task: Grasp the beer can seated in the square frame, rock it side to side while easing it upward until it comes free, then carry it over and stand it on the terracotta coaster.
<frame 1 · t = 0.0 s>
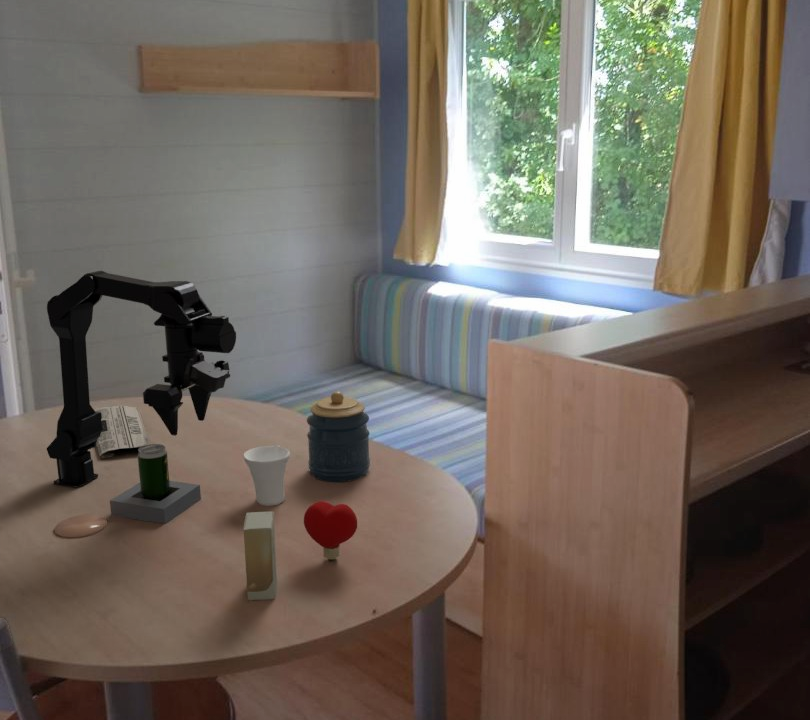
hand: (188, 427, 172), 15 cm above the table, fingers open, 9 cm apart
beer can: (157, 508, 172), resting in square frame
skincare box: (262, 592, 140), on the table
canister: (339, 472, 188), on the table
coaster: (81, 526, 163), on the table
cup: (269, 500, 174), on the table
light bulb: (331, 560, 150), on the table
square frame: (157, 507, 172), on the table
newspaper: (120, 436, 214), on the table
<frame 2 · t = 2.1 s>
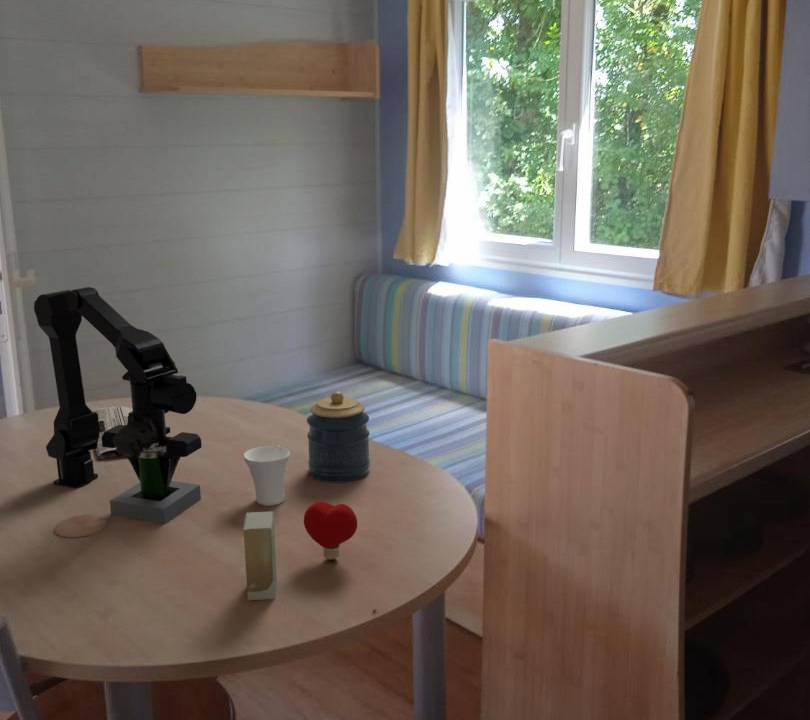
hand: (154, 482, 170), 5 cm above the table, fingers closed on beer can, 5 cm apart
beer can: (157, 507, 172), resting in square frame, touching gripper
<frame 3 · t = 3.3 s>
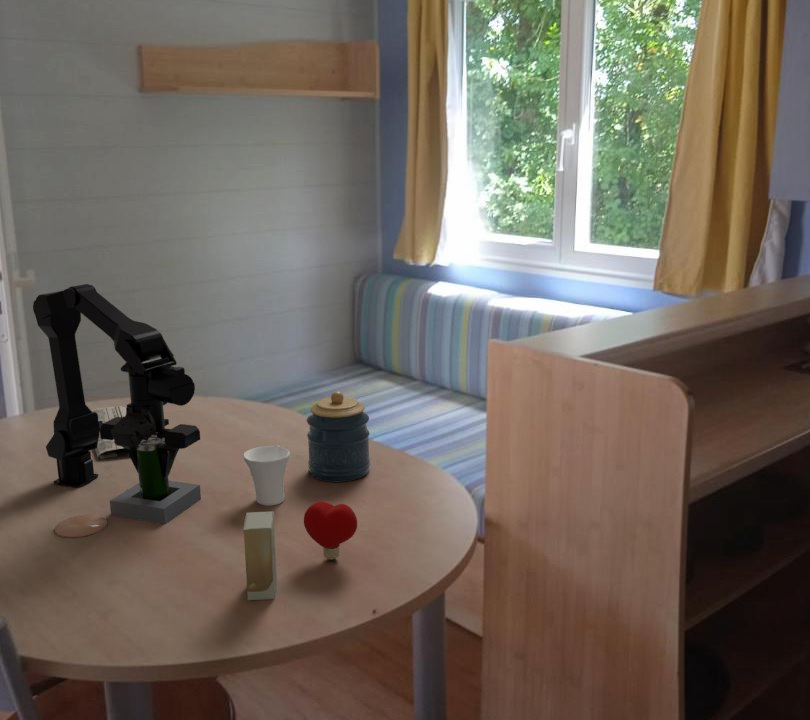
hand: (153, 474, 170), 7 cm above the table, fingers closed on beer can, 5 cm apart
beer can: (155, 500, 171), point 1 cm above the table, touching gripper
everything else where it was.
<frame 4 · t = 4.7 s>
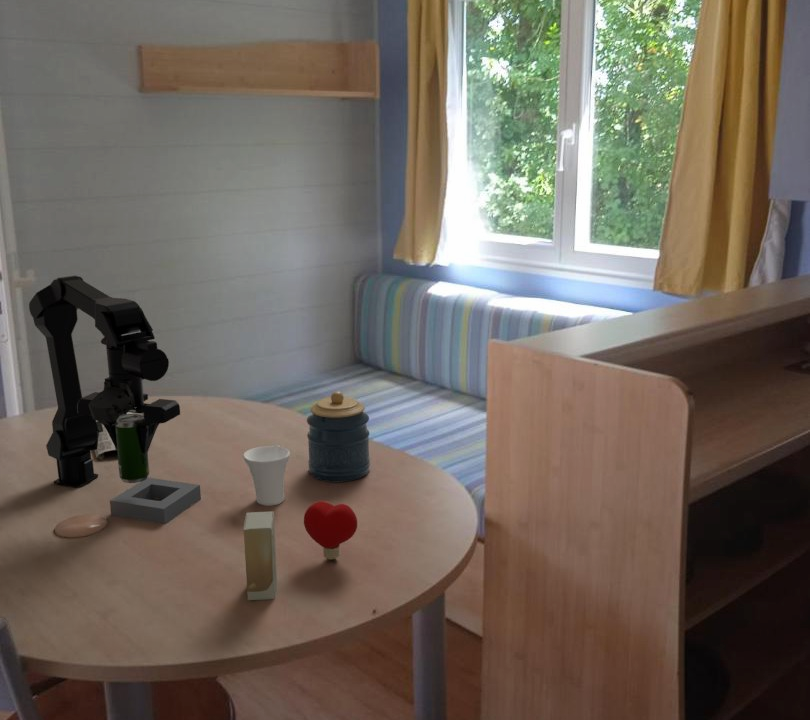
hand: (132, 451, 166), 12 cm above the table, fingers closed on beer can, 5 cm apart
beer can: (134, 479, 168), point 7 cm above the table, touching gripper
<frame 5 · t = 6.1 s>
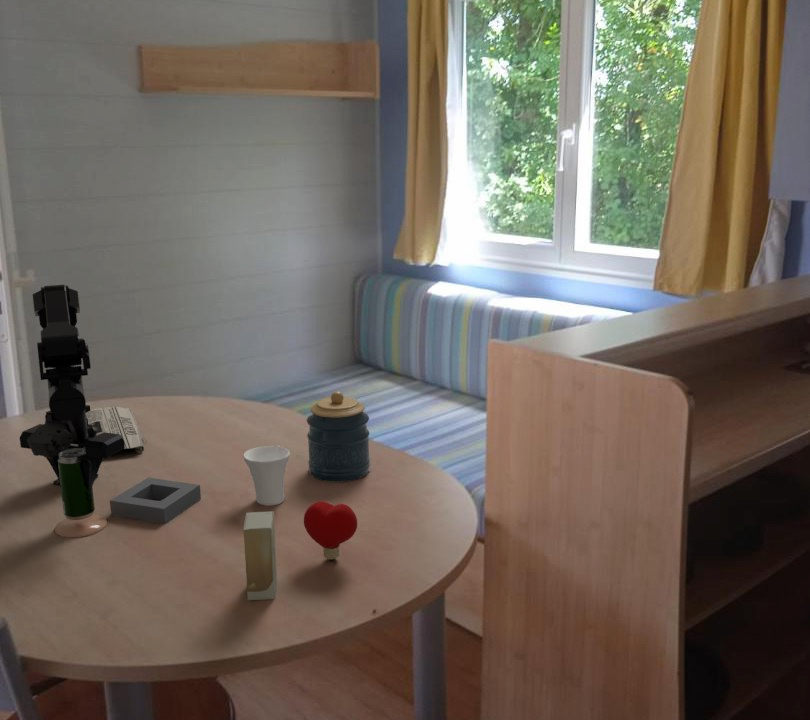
hand: (76, 485, 161), 8 cm above the table, fingers closed on beer can, 5 cm apart
beer can: (79, 515, 163), point 2 cm above the table, touching gripper
when the fingers open (6 cm above the table, at t = 7.2 s): beer can stays where it is, resting on coaster.
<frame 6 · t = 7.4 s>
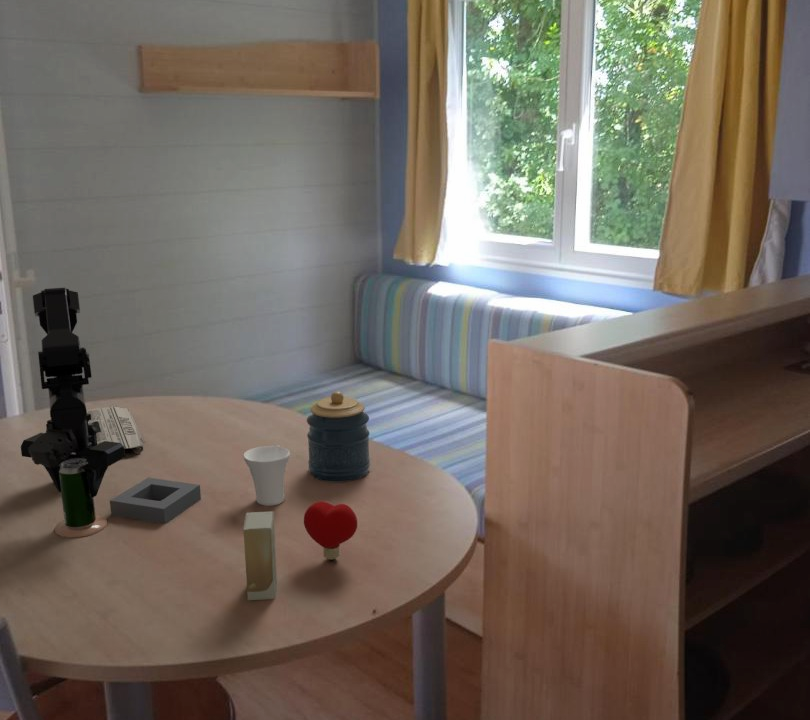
hand: (77, 493, 162), 6 cm above the table, fingers open, 7 cm apart
beer can: (80, 525, 163), resting on coaster
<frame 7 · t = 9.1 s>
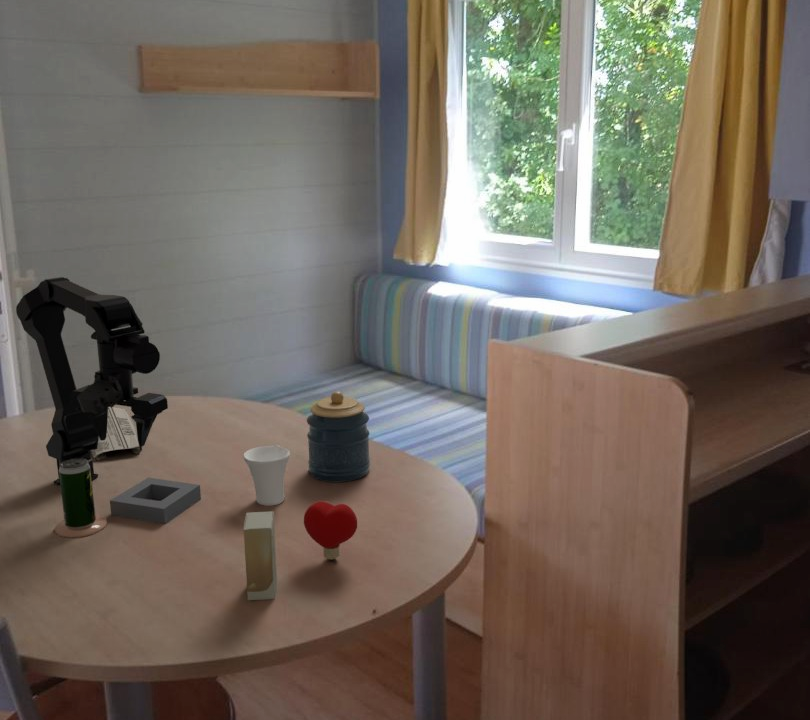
hand: (122, 443, 171), 12 cm above the table, fingers open, 9 cm apart
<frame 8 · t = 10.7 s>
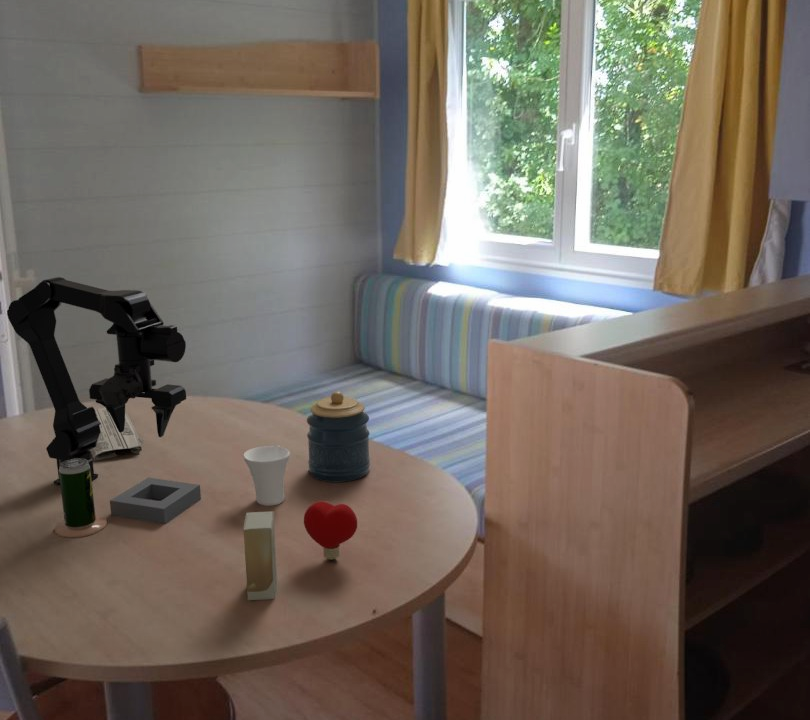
hand: (141, 434, 175), 13 cm above the table, fingers open, 9 cm apart
at the end: beer can 0.1 cm from the coaster (horizontally); beer can tilted 0°; the gripper is holding nothing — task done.
